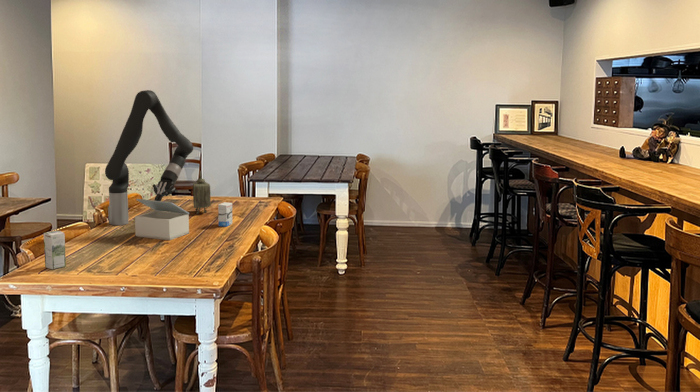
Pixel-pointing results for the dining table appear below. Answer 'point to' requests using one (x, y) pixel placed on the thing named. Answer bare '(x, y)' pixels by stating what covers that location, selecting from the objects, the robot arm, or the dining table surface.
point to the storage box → (162, 225)
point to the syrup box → (54, 249)
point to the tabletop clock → (201, 194)
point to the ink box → (225, 214)
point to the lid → (162, 206)
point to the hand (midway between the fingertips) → (156, 201)
